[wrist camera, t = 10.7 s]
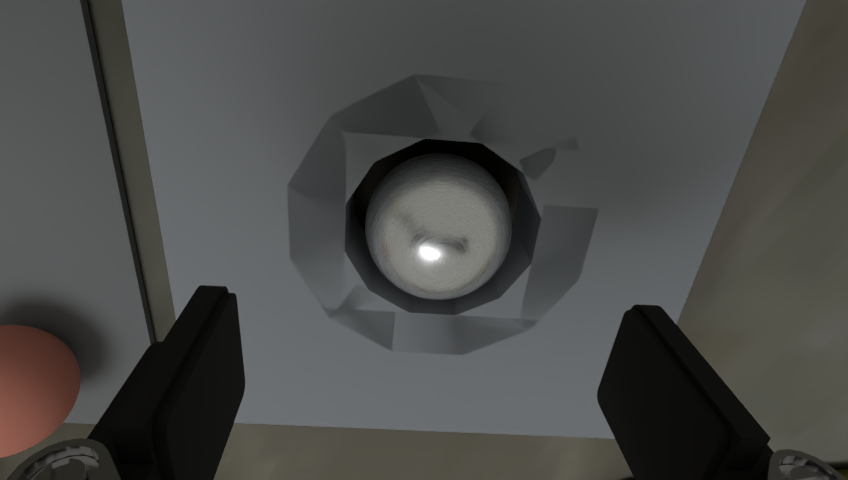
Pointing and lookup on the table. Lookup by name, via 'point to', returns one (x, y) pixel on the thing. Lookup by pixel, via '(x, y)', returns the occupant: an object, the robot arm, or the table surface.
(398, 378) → the board
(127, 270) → the mat
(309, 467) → the table surface
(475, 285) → the steel ball
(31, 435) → the rubber ball
